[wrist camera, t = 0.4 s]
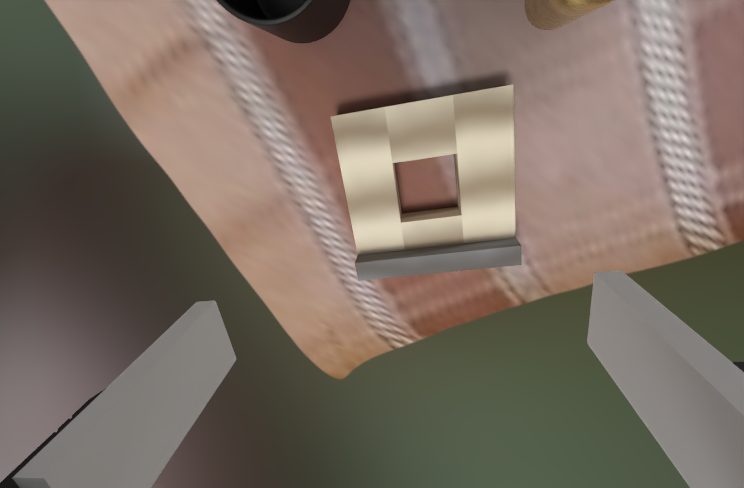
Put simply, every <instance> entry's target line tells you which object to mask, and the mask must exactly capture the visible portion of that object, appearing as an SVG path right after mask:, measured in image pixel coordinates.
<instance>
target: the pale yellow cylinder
mask: <svg viewBox="0 0 744 488" xmlns="http://www.w3.org/2000/svg"><path fill="white" fill-rule="evenodd" d="M612 1H614V0H525V11H526V15H527V17H528V19H529V21H530V22H531V23H532V24H533V25H534V26H535V27H537V28H539V29H543V30H551V29H555V28H558V27H560V26H562V25H564V24H566V23H568V22H570V21H572V20H575V19H577V18H579V17H581V16H583V15H585V14H587V13H589V12H591V11H593V10H595V9H598V8H600V7H602V6H604V5H606V4H608V3H610V2H612Z"/></svg>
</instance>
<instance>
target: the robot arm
mask: <svg viewBox="0 0 744 488" xmlns="http://www.w3.org/2000/svg"><path fill="white" fill-rule="evenodd" d="M589 321H590V322H589V330H588V340H587V343H588V345H589V346H590V348H591V349H592V350H593V352H594V353H595V355H596V356H597V358H598V359H599V360H600V362H601V363H602V364H603V366H604V367H605V369H606V370H607V372H608V373H609V374H610V376H611V377H612V379H613V380H614V381H615V383H616V384H617V385H618V387H619V388H620V390H621V391H622V393H623V394H624V395H625V397H626V398H627V399H628V401H629V402H630V404H631V405H632V406H633V408H634V409H635V411H636V412H637V414H638V415H639V416H640V418H641V419H642V421H643V422H644V423H645V425H646V426H647V428H648V429H649V430H650V432H651V433H652V435H653V436H654V437H655V439H656V440H657V442H658V443H659V444H660V446H661V447H662V449H663V450H664V451H665V453H666V454H667V456H668V457H669V459H670V460H671V461H672V463H673V464H674V466H675V467H676V468H677V470H678V471H679V473H680V474H681V475H682V477H683V478H684V480H685V481H686V482H687V484H688V485H689V486H690V488H744V362H731V361H730V360H728V359H727V358H726V357H725V356H724V355H722V354H721V353H720V352H719V351H717V350H716V349H715V348H714V347H713V346H712V345H710V344H709V343H708V342H707V341H705V340H704V339H703V338H702V337H701V336H699V335H698V334H697V333H696V332H695V331H693V330H692V329H691V328H690V327H689V326H687V325H686V324H685V323H684V322H682V321H681V320H680V319H679V318H678V317H677V316H675V315H674V314H673V313H672V312H670V311H669V310H668V309H667V308H666V307H664V306H663V305H662V304H661V303H660V302H658V301H657V300H656V299H655V298H653V297H652V296H651V295H650V294H648V292H646V291H645V290H644V289H643V288H642V287H640V286H639V285H638V284H637V283H636V282H634V281H633V280H632V279H630V277H628V276H627V275H626V274H625V273H623V272H622V271H621V270H619V271H605V272H594V282H593V292H592V301H591V311H590V320H589ZM235 361H236V357H235V354H234V351H233V349H232V345H231V343H230V340H229V337H228V334H227V332H226V329H225V326H224V323H223V321H222V318H221V315H220V312H219V309H218V307H217V304H216V301H203V302H196V303H195V304H194V305H193V306H192V307H191V308H190V309H189V310H188V311H187V312H186V313H185V314H184V315H183V316H182V317H180V318H179V319H178V320H177V321H176V322H175V323H174V324H173V325H172V326H171V327H170V328H169V329H168V330H167V331H166V332H165V333H164V334H163V335H162V336H160V337H159V338H158V339H157V340H156V341H155V342H154V343H153V344H152V345H151V346H150V347H149V348H148V349H147V350H146V351H145V352H144V353H143V354H142V355H141V356H139V357H138V358H137V359H136V361H134V362H133V363H132V364H131V365H130V366H129V367H128V368H127V369H126V370H125V371H124V372H123V373H122V374H121V375H120V376H118V377H117V378H116V379H115V381H113V382H112V383H111V384H110V385H109V386H108V387H107V388H106V389H104V390H103V391H101V392H100V393H98V394H97V395H95V396H94V397H92V398H91V399H89V400H88V401H87V402H86V403H85V404H84V405H83V406H82V407H81V408H80V409H79V410H77V411H76V412H75V413H74V414H73V415H72V418H71V419H68V420H67V421H66V422H65V423H64V424H62V425H61V426H60V427H59V428H58V431H57V432H54V433H53V434H52V435H51V436H50V437H49V438H48V439H46V441H44V442H43V443H42V444H41V445H40V446H39V447H38V448H37V449H36V450H35V451H34V452H33V453H32V454H30V455H29V456H28V457H27V458H26V459H25V460H24V461H23V462H22V463H21V464H20V465H19V466H18V467H17V468H16V469H15V470H14V471H12V472H11V473H10V474H9V475H8V476H7V477H6V478H5V479H4V480H3V481H2V482H1V483H0V488H151V486H152V485H153V483H154V482H155V480H156V479H157V477H158V476H159V474H160V473H161V471H162V470H163V468H164V467H165V465H166V464H167V462H168V461H169V459H170V458H171V456H172V455H173V453H174V452H175V450H176V449H177V447H178V446H179V444H180V443H181V441H182V440H183V438H184V437H185V435H186V434H187V432H188V431H189V429H190V428H191V427H192V425H193V424H194V422H195V421H196V419H197V417H198V416H199V415H200V413H201V412H202V410H203V408H204V407H205V406H206V404H207V403H208V401H209V400H210V398H211V396H212V395H213V394H214V392H215V391H216V389H217V388H218V386H219V385H220V383H221V382H222V380H223V379H224V377H225V376H226V374H227V373H228V371H229V370H230V368H231V367H232V365H233V363H234V362H235Z"/></svg>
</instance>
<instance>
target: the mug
mask: <svg viewBox="0 0 744 488" xmlns="http://www.w3.org/2000/svg"><path fill="white" fill-rule="evenodd" d="M217 1H218V2H219V4H220V5H222V6H223V7H224V8H225V9H226V10H227V11H228V12H230V13H231V14H232V15H234V16H235V17H237V18H239V19H241V20H243V21H245V22H247V23H249V24H252V25H254V26H256V27H258V28H260V29H263V30H265V31H267V32H269V33H271V34H274V35H276V36H278V37H280V38H282V39H285V40H287V41H290V42H294V43H310V42H313V41H317V40H319V39H321V38H323V37H325V36H326V35H328V34H329V33H330V32H331V31H333V30H334V28H335V27H336V26H337V25H338V24H339V22H340V21H341V19H342V18H343V16H344V14H345V12H346V10H347V7H348V4H349V1H350V0H217Z"/></svg>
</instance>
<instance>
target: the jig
mask: <svg viewBox="0 0 744 488" xmlns="http://www.w3.org/2000/svg"><path fill="white" fill-rule="evenodd" d="M331 121H332V126H333V131H334V137H335V142H336V147H337V152H338V157H339V162H340V167H341V172H342V177H343V182H344V187H345V192H346V197H347V203H348V208H349V213H350V218H351V223H352V228H353V233H354V238H355V243H356V248H357V253H358V256H357V259H356V262H355V266H356V271H357V276H358V280H370V279H380V278H390V277H400V276H411V275H421V274H431V273H442V272H452V271H462V270H473V269H483V268H493V267H503V266H514V265H521V245H520V243H519V242H518V241H517V239H516V238H515V168H514V96H513V85H505V86H499V87H493V88H488V89H482V90H476V91H471V92H465V93H459V94H454V95H448V96H442V97H437V98H431V99H425V100H420V101H414V102H408V103H403V104H397V105H391V106H386V107H380V108H374V109H369V110H363V111H357V112H352V113H346V114H340V115H335V116H331ZM450 154H454V161H455V174H456V187H457V200H458V207H451V208H443V209H435V210H427V211H419V212H411V213H403V214H402V212H401V205H400V198H399V191H398V184H397V177H396V169H395V163H397V162H404V161H410V160H417V159H424V158H430V157H437V156H444V155H450Z"/></svg>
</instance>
